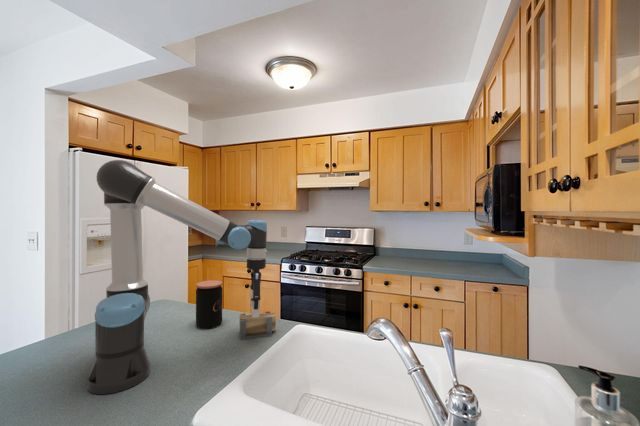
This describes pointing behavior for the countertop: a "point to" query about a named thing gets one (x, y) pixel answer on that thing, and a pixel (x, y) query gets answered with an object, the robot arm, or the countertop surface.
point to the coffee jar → (208, 304)
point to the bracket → (256, 335)
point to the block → (258, 323)
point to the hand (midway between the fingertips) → (254, 311)
